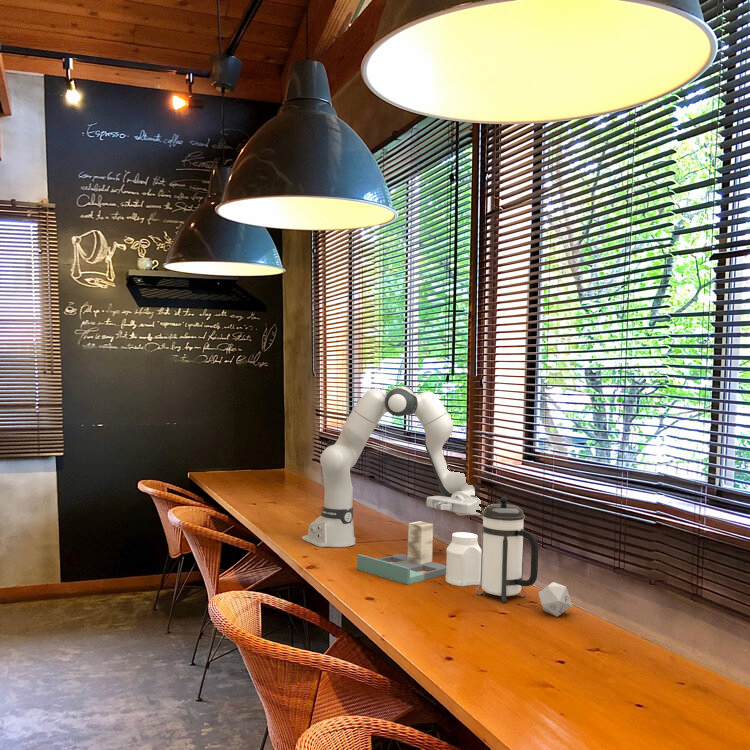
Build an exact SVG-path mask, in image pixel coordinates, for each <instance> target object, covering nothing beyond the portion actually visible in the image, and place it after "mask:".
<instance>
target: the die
mask: <svg viewBox="0 0 750 750" xmlns="http://www.w3.org/2000/svg"><path fill="white" fill-rule="evenodd" d="M538 596H539V599H540V603H541V606H542V609H543V612H546V613H548V614H549V615H552V616H555V617H557V618H558V617H559V616H561V614H563V613H564V612H566V611H568V610H569V609H570V608H571V607H573V603H572V600H571V597H570V594H569V591H568V589H567V586H565V585H563V584H560V583H558V582H554V581H552V582H551V583H550V584H547V586H545V587H544V588H543V589H541V590H539V591H538Z"/></svg>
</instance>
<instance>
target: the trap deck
mask: <svg viewBox="0 0 750 750" xmlns="http://www.w3.org/2000/svg"><path fill="white" fill-rule="evenodd" d="M356 558H357V559H356V560H357V561H356V570H357V571H361V572H364V573H367V572H368V574H371V575H374V576H377V577H381V578H384V579H388V580H391V581H394V582H397V583H401V584H405V585H406V586H407V585H412V584H414V583H416V584H417V583H420V582H423V581H426V580H429V579H433V578H436V577H441V576H446V564H443V563H438V562H434V561H432V562H429V563H425V564H417V563H413V562H410V561H408V554H404V553H397V554H392V555H388V556H384V557H379V558H374V557H371V556H368V555H365V554H361V553H359V554H357V557H356Z"/></svg>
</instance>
